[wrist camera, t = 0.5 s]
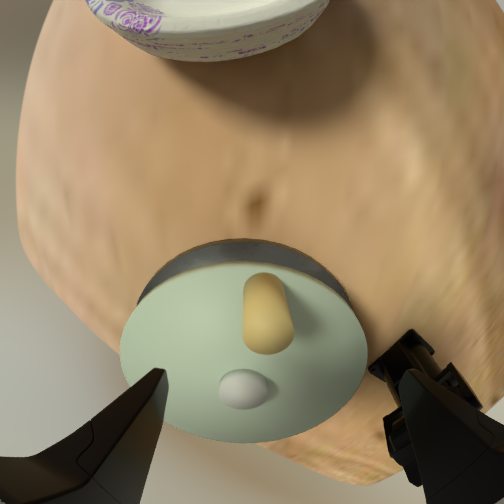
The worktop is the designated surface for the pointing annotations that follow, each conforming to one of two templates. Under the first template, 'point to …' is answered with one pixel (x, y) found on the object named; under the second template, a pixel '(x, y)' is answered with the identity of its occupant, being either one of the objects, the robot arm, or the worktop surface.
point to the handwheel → (246, 350)
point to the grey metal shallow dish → (244, 252)
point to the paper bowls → (207, 25)
